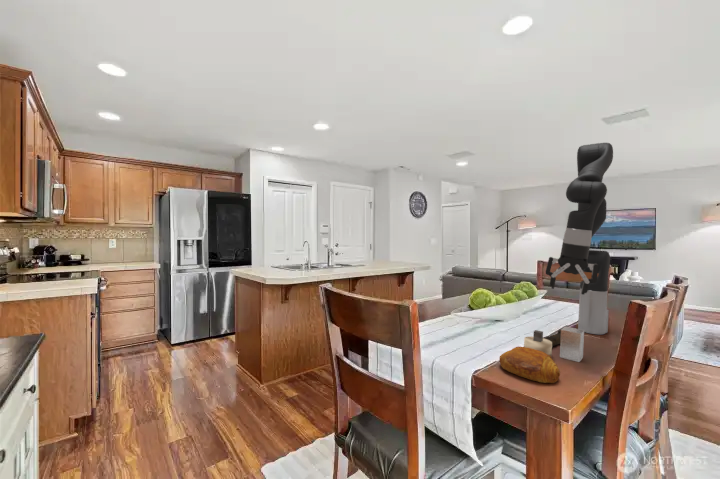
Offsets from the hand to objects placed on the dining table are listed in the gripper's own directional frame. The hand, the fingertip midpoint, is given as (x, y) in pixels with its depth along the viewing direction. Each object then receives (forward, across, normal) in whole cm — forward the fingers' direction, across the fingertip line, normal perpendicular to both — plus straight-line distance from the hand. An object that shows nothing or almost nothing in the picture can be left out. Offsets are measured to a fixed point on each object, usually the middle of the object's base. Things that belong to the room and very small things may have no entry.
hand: (567, 291), depth 109 cm
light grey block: (+20, -4, +4) cm, 21 cm away
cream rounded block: (+22, +5, +8) cm, 24 cm away
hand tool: (+22, 0, -8) cm, 23 cm away
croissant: (+22, +7, +23) cm, 32 cm away
